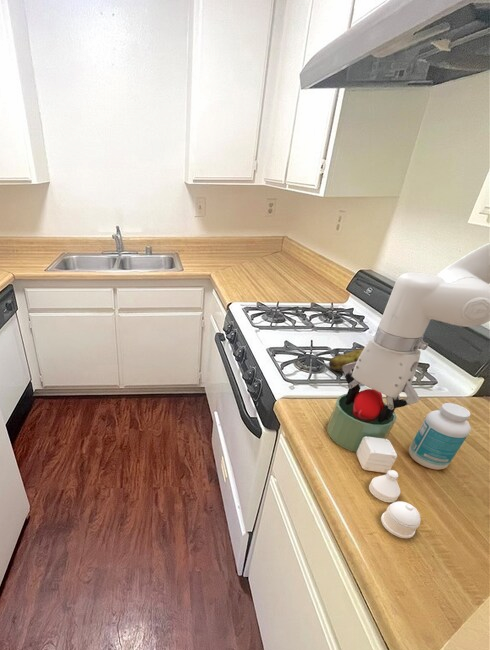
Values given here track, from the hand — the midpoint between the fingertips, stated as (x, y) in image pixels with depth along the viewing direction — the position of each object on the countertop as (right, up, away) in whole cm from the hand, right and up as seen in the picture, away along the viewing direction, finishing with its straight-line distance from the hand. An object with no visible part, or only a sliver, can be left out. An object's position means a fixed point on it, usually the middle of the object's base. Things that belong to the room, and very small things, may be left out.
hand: (365, 410), depth 77 cm
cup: (0, -6, +4) cm, 8 cm away
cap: (0, -1, +1) cm, 1 cm away
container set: (-2, -16, -10) cm, 18 cm away
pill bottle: (+12, -11, -1) cm, 16 cm away
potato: (+12, +10, +29) cm, 33 cm away
